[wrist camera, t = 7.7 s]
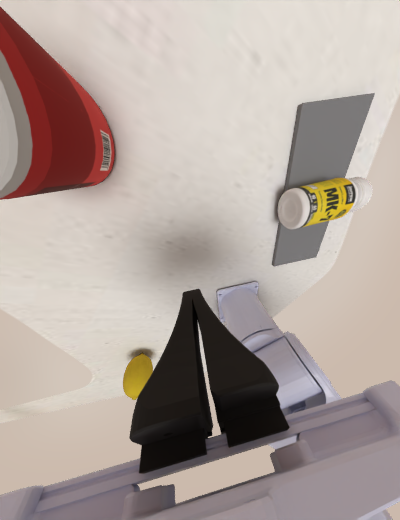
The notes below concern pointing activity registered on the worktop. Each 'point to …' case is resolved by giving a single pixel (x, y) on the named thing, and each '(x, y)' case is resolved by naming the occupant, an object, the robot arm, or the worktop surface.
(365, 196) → the supplement bottle
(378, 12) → the worktop surface
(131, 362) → the lemon
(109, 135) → the canned food
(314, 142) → the mat
